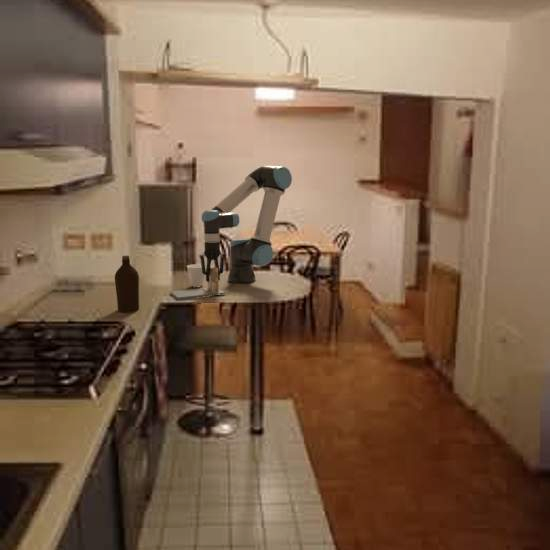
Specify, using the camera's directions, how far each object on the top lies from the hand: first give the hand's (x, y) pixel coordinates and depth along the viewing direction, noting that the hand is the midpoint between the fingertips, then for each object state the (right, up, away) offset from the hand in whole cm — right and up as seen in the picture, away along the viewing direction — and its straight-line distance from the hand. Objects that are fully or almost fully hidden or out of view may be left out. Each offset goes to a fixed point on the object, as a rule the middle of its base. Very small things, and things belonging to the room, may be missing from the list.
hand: (213, 287), depth 313 cm
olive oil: (-35, -10, -31) cm, 48 cm away
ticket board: (-11, -4, -4) cm, 13 cm away
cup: (-10, 0, +16) cm, 19 cm away
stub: (0, -3, +1) cm, 3 cm away
